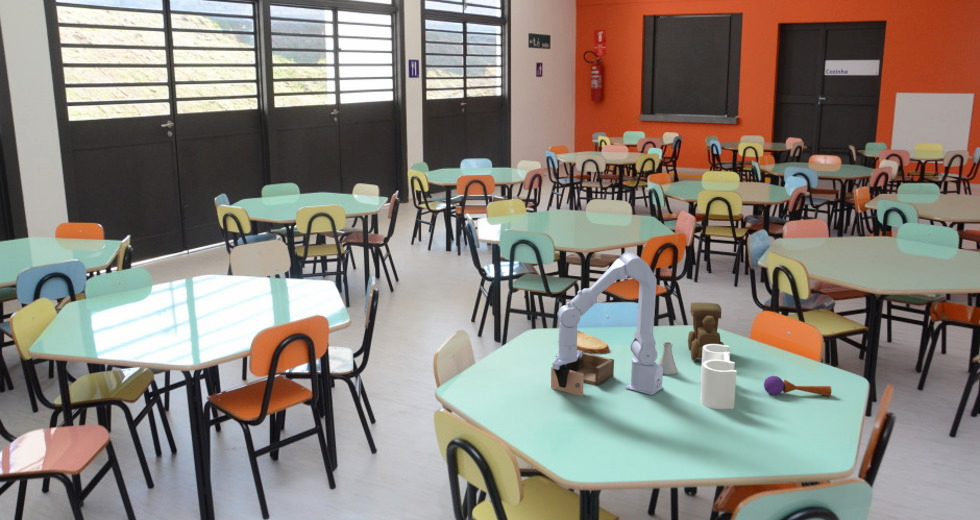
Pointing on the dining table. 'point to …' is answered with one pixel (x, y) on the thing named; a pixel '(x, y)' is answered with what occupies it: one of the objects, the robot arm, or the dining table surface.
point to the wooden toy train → (703, 327)
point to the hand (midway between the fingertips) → (567, 384)
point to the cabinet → (596, 368)
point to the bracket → (717, 377)
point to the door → (569, 382)
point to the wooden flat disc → (591, 344)
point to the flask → (668, 360)
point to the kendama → (792, 387)
